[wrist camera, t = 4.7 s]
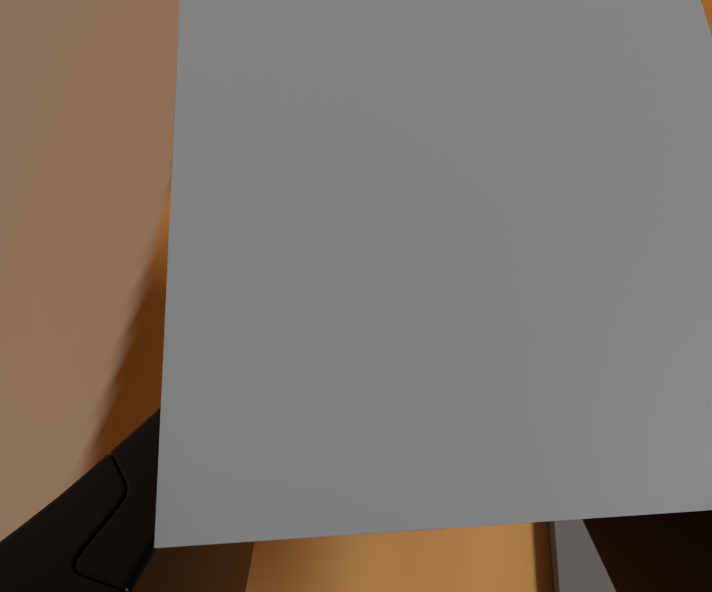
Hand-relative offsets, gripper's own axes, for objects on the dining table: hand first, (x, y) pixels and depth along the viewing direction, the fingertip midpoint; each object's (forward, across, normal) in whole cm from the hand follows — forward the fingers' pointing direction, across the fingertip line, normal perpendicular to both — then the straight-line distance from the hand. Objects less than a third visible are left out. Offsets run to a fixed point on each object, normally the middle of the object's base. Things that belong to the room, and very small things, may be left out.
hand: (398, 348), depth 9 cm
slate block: (+5, 0, +5) cm, 7 cm away
